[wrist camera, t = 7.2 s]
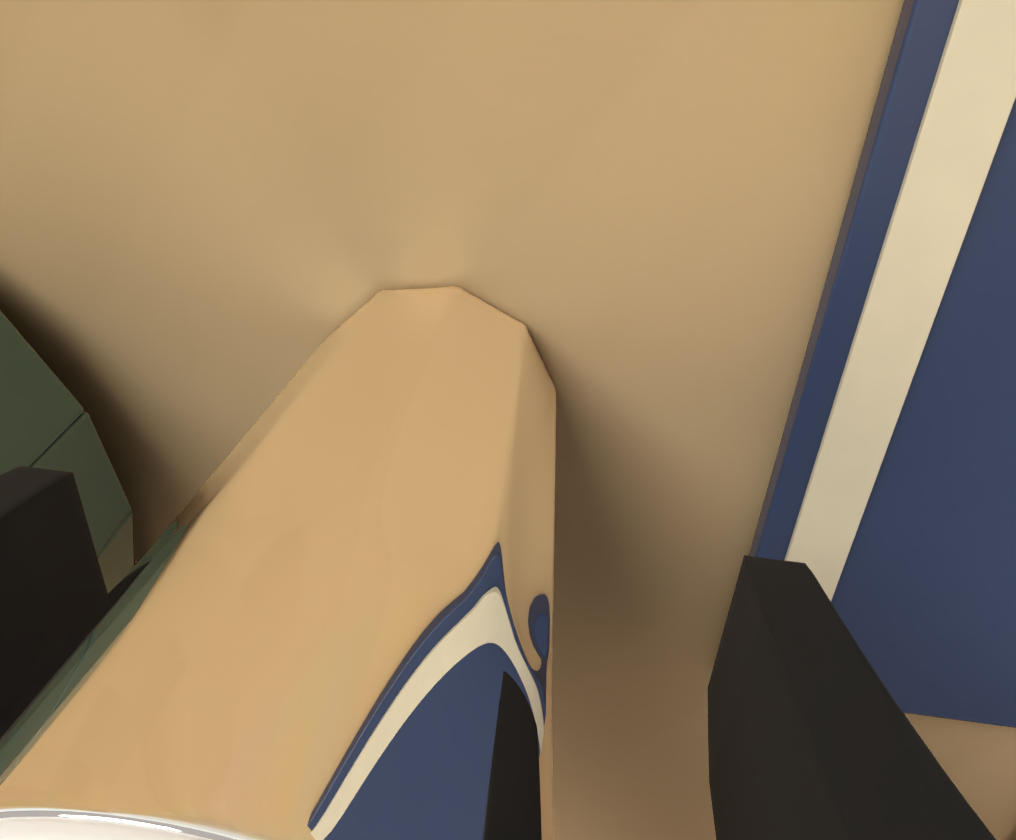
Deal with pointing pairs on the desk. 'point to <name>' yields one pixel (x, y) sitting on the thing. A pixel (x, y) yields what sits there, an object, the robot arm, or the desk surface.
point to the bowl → (62, 447)
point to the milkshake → (328, 615)
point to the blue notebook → (919, 379)
